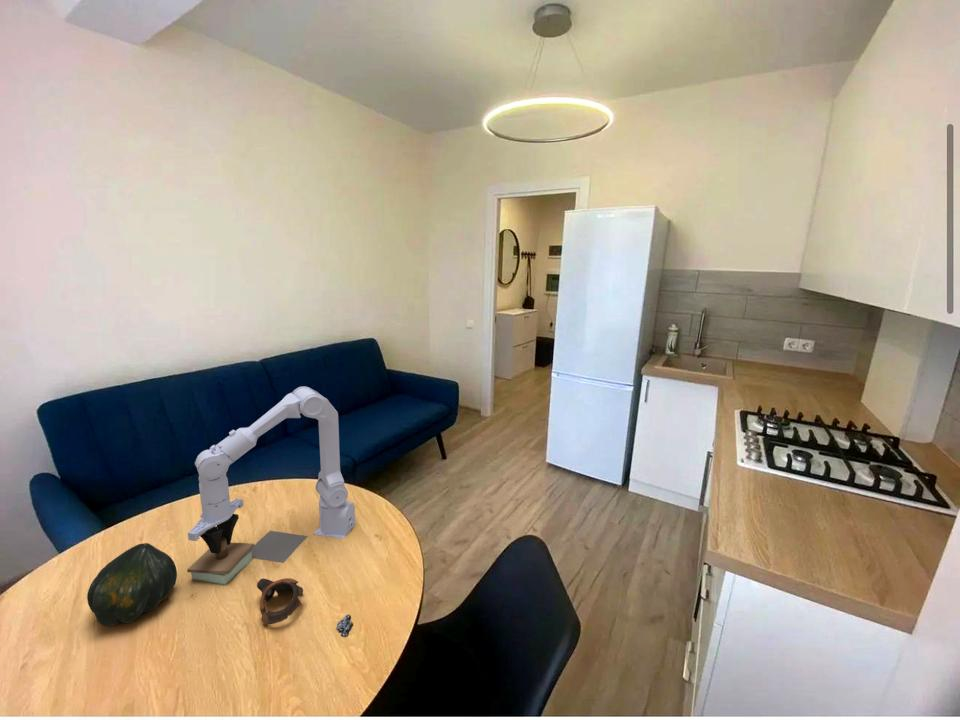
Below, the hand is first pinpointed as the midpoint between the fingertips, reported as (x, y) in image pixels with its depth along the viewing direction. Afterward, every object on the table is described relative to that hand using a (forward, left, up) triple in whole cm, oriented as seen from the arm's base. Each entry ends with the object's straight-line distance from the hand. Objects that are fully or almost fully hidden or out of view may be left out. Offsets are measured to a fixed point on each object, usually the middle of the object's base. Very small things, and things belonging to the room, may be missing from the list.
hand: (220, 548), depth 97 cm
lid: (0, 0, -3) cm, 3 cm away
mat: (-7, -11, -6) cm, 14 cm away
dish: (0, 0, -6) cm, 6 cm away
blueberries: (-38, +9, -7) cm, 40 cm away
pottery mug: (-21, +7, -7) cm, 23 cm away
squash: (+10, +13, -7) cm, 18 cm away
